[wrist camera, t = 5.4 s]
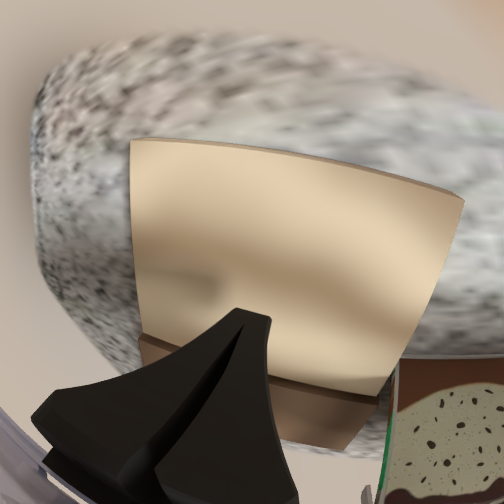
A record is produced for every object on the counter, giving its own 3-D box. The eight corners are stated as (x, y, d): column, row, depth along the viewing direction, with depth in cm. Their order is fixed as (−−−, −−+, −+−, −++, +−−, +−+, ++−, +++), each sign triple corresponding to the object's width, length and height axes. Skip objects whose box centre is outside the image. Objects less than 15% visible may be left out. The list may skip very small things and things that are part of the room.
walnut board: (378, 384, 15) (378, 405, 14) (345, 432, 18) (343, 450, 16) (151, 323, 18) (137, 339, 17) (160, 380, 21) (150, 394, 20)
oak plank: (375, 377, 15) (376, 396, 13) (155, 318, 18) (142, 332, 16) (451, 191, 10) (464, 200, 9) (149, 137, 13) (130, 140, 11)
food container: (349, 413, 17) (327, 546, 8) (370, 351, 14) (359, 530, 6) (492, 409, 14) (508, 517, 5) (530, 351, 11) (573, 471, 2)
